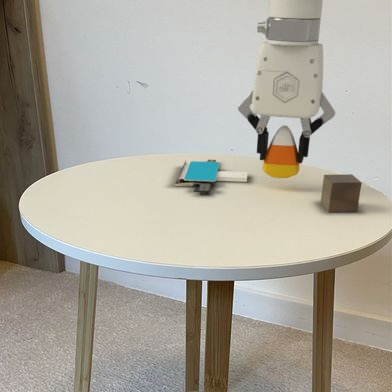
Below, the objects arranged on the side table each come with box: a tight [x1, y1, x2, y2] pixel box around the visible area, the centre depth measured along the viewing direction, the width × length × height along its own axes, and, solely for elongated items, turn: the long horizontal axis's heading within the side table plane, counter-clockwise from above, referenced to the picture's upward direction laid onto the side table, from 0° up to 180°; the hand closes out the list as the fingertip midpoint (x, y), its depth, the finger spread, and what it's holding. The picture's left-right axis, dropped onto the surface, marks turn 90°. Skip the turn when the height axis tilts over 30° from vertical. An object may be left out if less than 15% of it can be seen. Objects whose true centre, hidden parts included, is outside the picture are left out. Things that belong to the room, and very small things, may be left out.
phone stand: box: [174, 159, 248, 196], centre depth 103 cm, size 20×12×2 cm, turn 175°
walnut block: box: [320, 173, 363, 213], centre depth 90 cm, size 4×4×4 cm
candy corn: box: [262, 124, 301, 179], centre depth 96 cm, size 6×3×8 cm, turn 82°
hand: (281, 158), depth 96 cm, fingers closed on candy corn, 5 cm apart
